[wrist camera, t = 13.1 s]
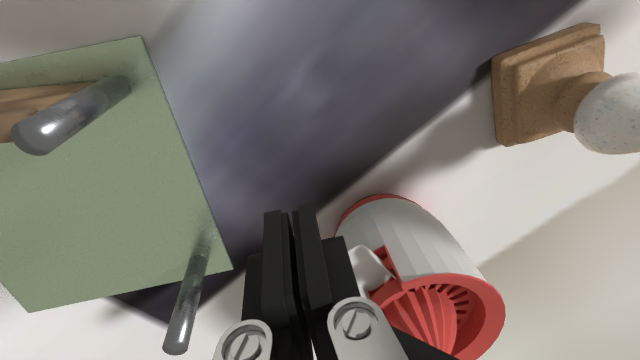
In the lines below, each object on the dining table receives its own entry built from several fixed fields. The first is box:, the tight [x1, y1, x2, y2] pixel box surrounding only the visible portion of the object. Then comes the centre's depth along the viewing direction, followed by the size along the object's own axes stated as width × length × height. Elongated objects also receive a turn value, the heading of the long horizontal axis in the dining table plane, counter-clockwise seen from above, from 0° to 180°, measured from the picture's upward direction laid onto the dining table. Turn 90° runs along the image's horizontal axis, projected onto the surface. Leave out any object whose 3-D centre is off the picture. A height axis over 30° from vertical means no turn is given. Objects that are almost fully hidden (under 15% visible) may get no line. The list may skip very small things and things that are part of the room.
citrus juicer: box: [334, 194, 505, 360], centre depth 38 cm, size 16×17×20 cm
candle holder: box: [491, 23, 640, 155], centre depth 29 cm, size 11×11×24 cm
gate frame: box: [0, 36, 234, 355], centre depth 33 cm, size 30×28×14 cm
